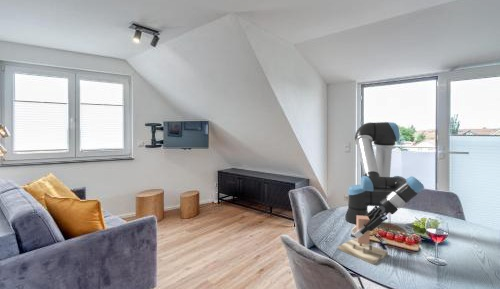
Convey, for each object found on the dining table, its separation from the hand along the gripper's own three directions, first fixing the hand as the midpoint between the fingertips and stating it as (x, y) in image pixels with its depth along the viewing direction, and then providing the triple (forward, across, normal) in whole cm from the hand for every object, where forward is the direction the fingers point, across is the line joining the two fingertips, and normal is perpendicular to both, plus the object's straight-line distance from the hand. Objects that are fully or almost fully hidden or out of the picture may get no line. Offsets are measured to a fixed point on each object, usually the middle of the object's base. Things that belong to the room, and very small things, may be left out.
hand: (354, 234), depth 123 cm
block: (0, 0, -5) cm, 5 cm away
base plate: (+4, 0, -9) cm, 10 cm away
